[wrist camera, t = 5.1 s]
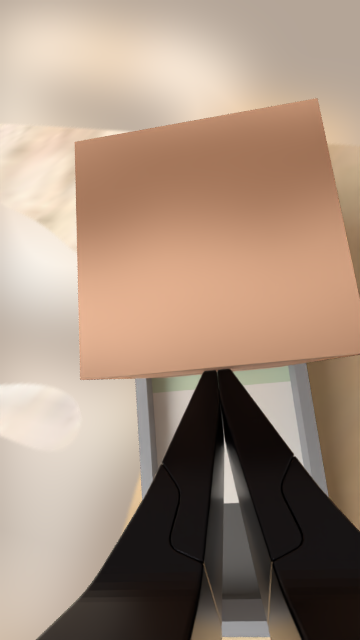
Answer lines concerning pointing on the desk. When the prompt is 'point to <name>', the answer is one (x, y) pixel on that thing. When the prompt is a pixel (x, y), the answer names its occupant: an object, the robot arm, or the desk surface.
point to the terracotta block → (212, 248)
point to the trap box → (290, 422)
